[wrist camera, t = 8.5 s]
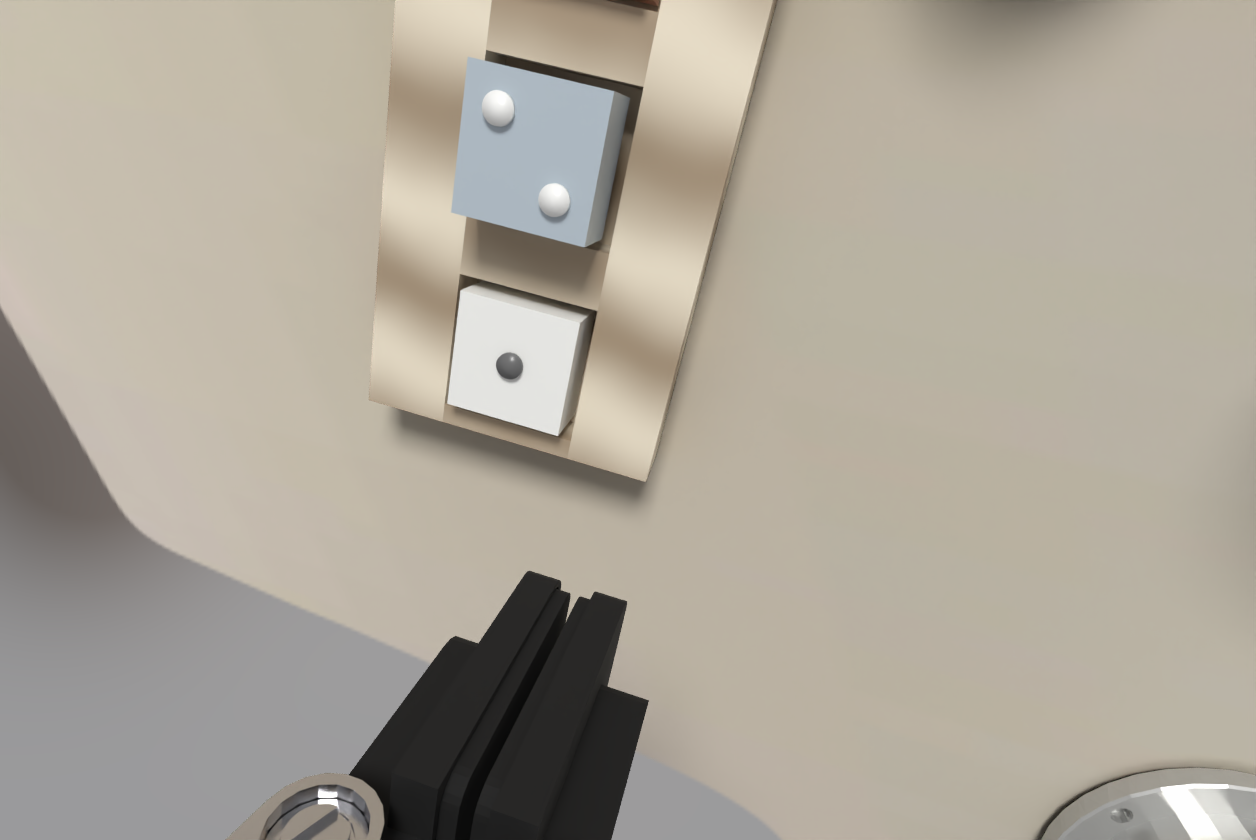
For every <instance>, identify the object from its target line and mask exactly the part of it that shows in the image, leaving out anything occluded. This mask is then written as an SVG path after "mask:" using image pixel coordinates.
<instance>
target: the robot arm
mask: <svg viewBox="0 0 1256 840" xmlns="http://www.w3.org/2000/svg"><path fill="white" fill-rule="evenodd" d="M569 602H570V593H568V592H564V591H561V581H560V580H557V579H554V578H551V577H547V576H544V575H541V574H538V573H535V572H532V571H528V572H527V573H526V574H525V575H524V576H523V578H522V579H521V581H520V582H519V584H518V585H517V587H516V588H515V590H514V591H513V593H512V594H511V596H510V597H509V599H508V600H507V602H506V603H505V605H504V606H503V608H502V609H501V611H500V612H499V614H498V615H497V617H496V618H495V620H494V621H493V623H492V624H491V626H490V627H489V629H488V630H487V632H486V633H485V635H484V636H483V638H482V639H481V641H480V642H479V644H478V643H475V642H472V641H469V640H466V639H463V638H460V637H457V636H455V637H453V638H451V639H450V640H449V641H448V642H447V643H446V645H445V646H444V647H443V648H442V650H441V651H440V652H439V654H438V655H437V657H436V658H435V659H434V661H433V662H432V663H431V665H430V666H429V667H428V669H427V670H426V672H425V673H424V674H423V675H422V677H421V678H420V679H419V681H418V682H417V684H416V685H415V686H414V688H413V689H412V690H411V692H410V693H409V694H408V696H407V697H406V698H405V700H404V701H403V703H402V704H401V705H400V706H399V708H398V709H397V711H396V712H395V713H394V715H393V716H392V717H391V719H390V720H389V721H388V723H387V724H386V725H385V727H384V728H383V730H382V731H381V732H380V734H379V735H378V736H377V738H376V739H375V740H374V742H373V743H372V744H371V746H370V747H369V748H368V750H367V751H366V752H365V754H364V755H363V756H362V758H361V759H360V760H359V762H358V763H357V765H356V766H355V767H354V769H353V770H352V771H351V773H350V774H349V775H347V774H334V773H324V774H319V775H314V776H309V777H305V778H303V779H301V780H298V781H296V782H294V783H292V784H289V785H287V786H285V787H284V788H283V789H281V790H280V791H279V792H277V793H276V794H275V795H273V796H272V797H271V798H269V799H268V800H267V801H266V802H265V803H264V804H263V805H262V806H261V807H260V808H258V809H257V810H256V811H255V812H254V813H253V814H252V815H251V816H250V817H249V818H248V819H247V820H246V821H245V822H243V824H242V825H240V826H239V827H238V828H237V829H236V830H235V831H234V832H233V833H232V834H231V835H230V836H229V837H228V838H227V839H226V840H611V838H612V835H613V830H614V827H615V823H616V820H617V816H618V812H619V809H620V805H621V801H622V797H623V794H624V790H625V787H626V783H627V779H628V775H629V771H630V768H631V764H632V760H633V757H634V753H635V750H636V746H637V742H638V739H639V735H640V731H641V728H642V724H643V720H644V716H645V713H646V709H647V705H648V702H649V700H646V699H643V698H640V697H637V696H634V695H631V694H628V693H625V692H622V691H619V690H616V689H613V688H610V687H607V686H608V682H609V677H610V673H611V669H612V665H613V661H614V657H615V653H616V648H617V644H618V640H619V636H620V632H621V628H622V624H623V619H624V615H625V611H626V607H627V601H624V600H621V599H618V598H614V597H611V596H608V595H605V594H602V593H598V592H594V593H593V595H592V597H591V599H587V598H583V597H579V598H578V600H577V601H576V603H575V605H574V607H573V609H572V611H571V613H570V615H569V617H568V619H567V621H566V617H567V612H568V607H569ZM565 622H566V623H565ZM1041 840H1256V775H1254V774H1249V773H1244V772H1239V771H1234V770H1225V769H1211V768H1198V767H1197V768H1177V769H1163V770H1158V771H1152V772H1146V773H1141V774H1135V775H1132V776H1129V777H1126V778H1122V779H1119V780H1116V781H1113V782H1110V783H1107V784H1105V785H1103V786H1101V787H1099V788H1097V789H1095V790H1093V791H1091V792H1089V793H1087V794H1085V795H1083V796H1082V797H1080V798H1079V799H1077V800H1076V801H1075V802H1073V803H1072V804H1070V805H1069V806H1068V807H1066V808H1065V809H1064V810H1063V811H1062V812H1061V813H1060V814H1059V815H1058V816H1057V817H1056V818H1055V819H1054V821H1053V822H1052V823H1051V824H1050V825H1049V826H1048V828H1047V830H1046V832H1045V834H1044V835H1043V837H1042V839H1041Z"/></svg>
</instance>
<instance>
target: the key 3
mask: <svg viewBox="0 0 1256 840" xmlns="http://www.w3.org/2000/svg"><path fill="white" fill-rule="evenodd" d="M632 1H636V2H641V3H645V4H650V5H654V6H658V5H659V0H632Z"/></svg>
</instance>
